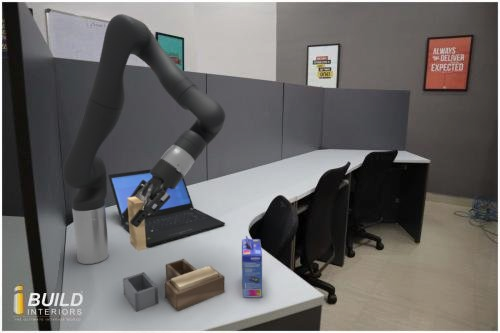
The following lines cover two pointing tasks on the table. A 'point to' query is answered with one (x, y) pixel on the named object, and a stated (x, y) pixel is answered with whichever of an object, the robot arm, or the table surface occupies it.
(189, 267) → the tray
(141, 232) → the oak slat
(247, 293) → the ink cartridge box
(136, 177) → the laptop
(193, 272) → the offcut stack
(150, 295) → the holder
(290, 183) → the table surface
